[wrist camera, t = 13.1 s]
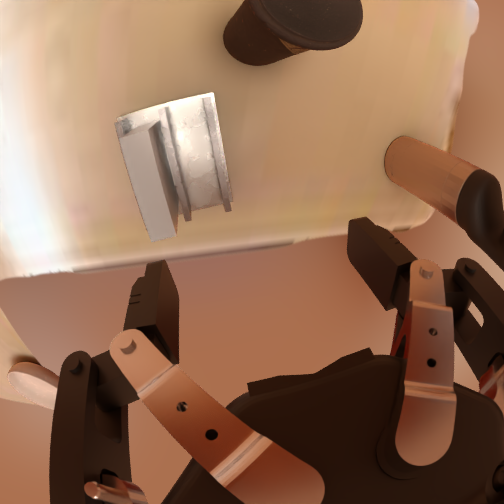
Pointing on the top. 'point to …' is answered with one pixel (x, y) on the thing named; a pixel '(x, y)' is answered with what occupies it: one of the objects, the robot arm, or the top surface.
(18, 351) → the top surface
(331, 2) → the container
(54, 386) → the serving bowl
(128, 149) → the dish slab
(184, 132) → the dish rack
